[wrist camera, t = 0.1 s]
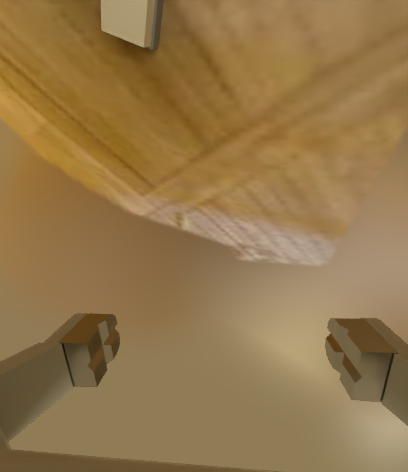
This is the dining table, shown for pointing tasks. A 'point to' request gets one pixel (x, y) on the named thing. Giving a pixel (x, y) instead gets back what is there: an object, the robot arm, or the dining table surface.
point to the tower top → (128, 20)
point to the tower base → (156, 24)
